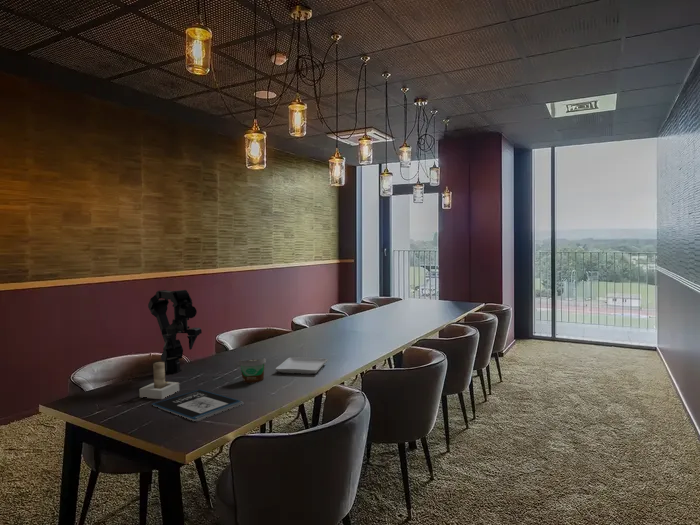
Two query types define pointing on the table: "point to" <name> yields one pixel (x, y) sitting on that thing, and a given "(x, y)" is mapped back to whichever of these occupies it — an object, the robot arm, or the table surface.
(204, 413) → the sketchbook
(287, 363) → the salad plate
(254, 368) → the food container
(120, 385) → the table surface
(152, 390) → the holder block
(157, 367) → the beige cylinder
